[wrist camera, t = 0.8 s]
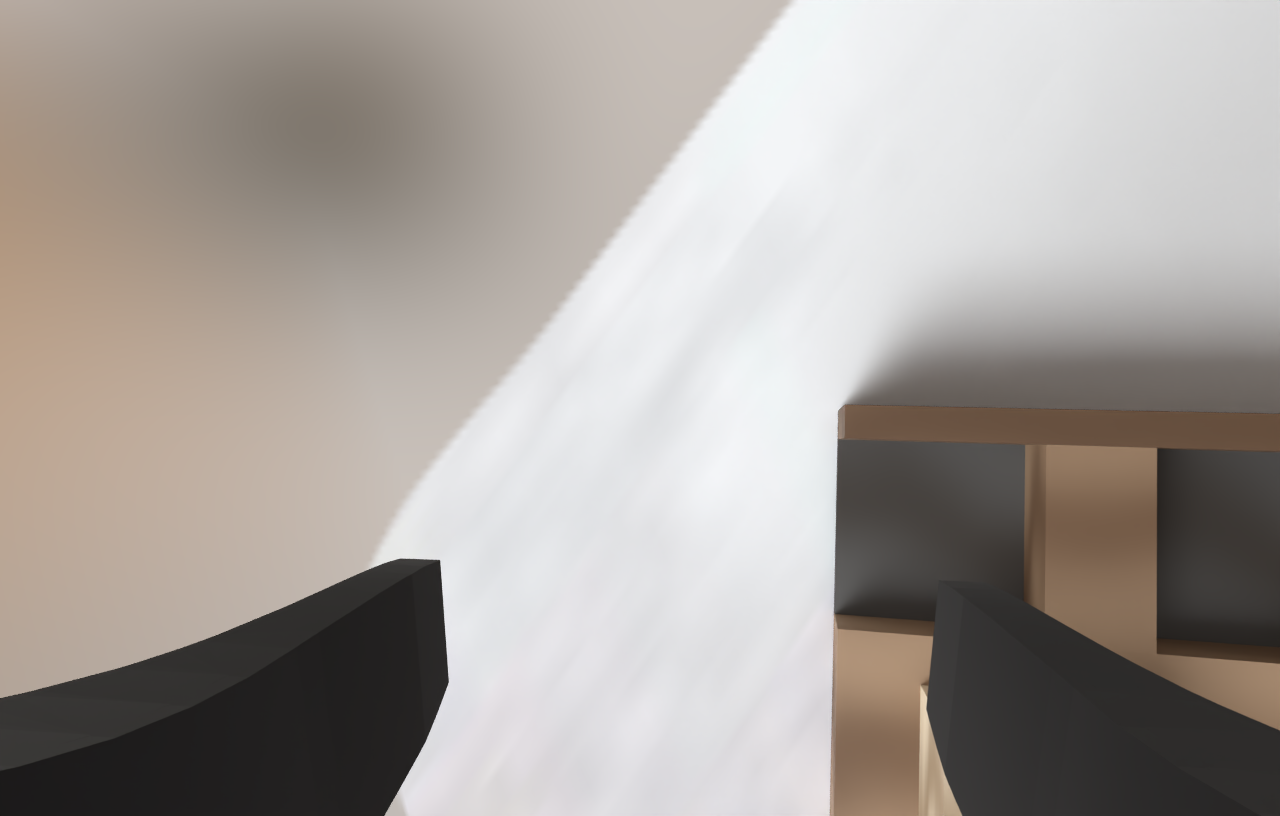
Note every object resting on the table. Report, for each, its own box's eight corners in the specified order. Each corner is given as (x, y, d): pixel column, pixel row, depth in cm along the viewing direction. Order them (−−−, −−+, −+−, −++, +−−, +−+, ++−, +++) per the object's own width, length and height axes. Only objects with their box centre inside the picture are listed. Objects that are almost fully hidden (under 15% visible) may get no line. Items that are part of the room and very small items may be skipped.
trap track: (1671, 998, 21) (1866, 1122, 18) (828, 878, 26) (834, 953, 22) (1656, 429, 22) (1840, 425, 18) (838, 410, 27) (844, 405, 23)
